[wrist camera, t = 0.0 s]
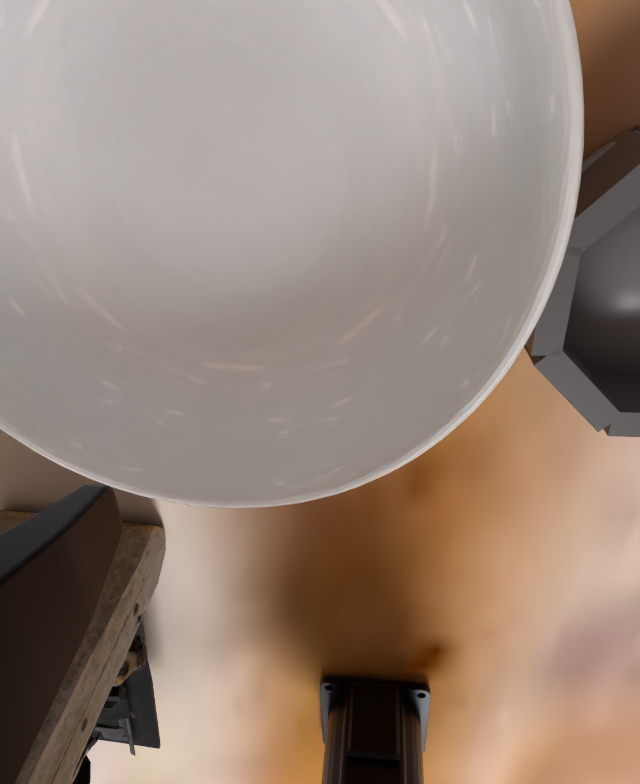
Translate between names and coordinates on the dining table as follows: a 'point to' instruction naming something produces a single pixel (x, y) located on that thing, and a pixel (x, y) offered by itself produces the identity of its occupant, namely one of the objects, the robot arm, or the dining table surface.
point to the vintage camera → (103, 667)
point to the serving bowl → (274, 231)
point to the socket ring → (599, 296)
